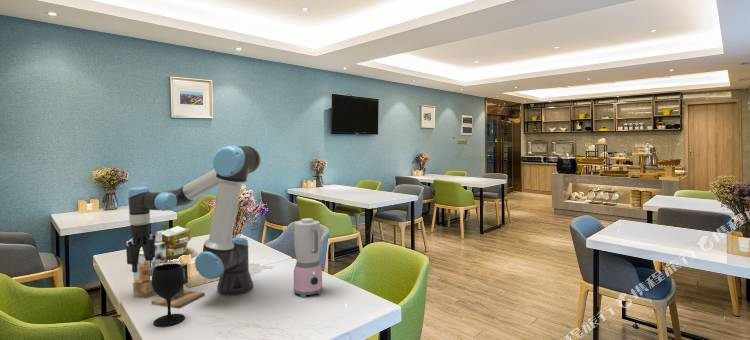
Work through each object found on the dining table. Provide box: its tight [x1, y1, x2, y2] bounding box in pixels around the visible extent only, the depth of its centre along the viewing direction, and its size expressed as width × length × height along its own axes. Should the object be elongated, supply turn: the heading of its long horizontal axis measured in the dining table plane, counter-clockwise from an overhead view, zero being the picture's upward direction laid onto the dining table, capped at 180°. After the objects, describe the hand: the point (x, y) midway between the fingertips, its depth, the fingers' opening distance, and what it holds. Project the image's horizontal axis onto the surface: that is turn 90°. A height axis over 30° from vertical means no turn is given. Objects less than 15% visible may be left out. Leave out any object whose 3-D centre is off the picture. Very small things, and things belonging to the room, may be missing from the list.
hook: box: [133, 263, 153, 283], centre depth 167 cm, size 19×4×7 cm, turn 73°
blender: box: [293, 217, 323, 298], centre depth 170 cm, size 16×12×32 cm
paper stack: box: [155, 225, 198, 263], centre depth 229 cm, size 25×25×17 cm
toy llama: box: [138, 231, 166, 270], centre depth 202 cm, size 8×18×20 cm, turn 63°
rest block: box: [132, 279, 157, 299], centre depth 170 cm, size 7×5×6 cm
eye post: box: [174, 263, 189, 299], centre depth 164 cm, size 2×8×13 cm, turn 163°
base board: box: [151, 289, 206, 309], centre depth 164 cm, size 14×14×1 cm
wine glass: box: [151, 262, 186, 328], centre depth 144 cm, size 10×10×20 cm
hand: (142, 277), depth 170 cm, fingers closed on hook, 4 cm apart
